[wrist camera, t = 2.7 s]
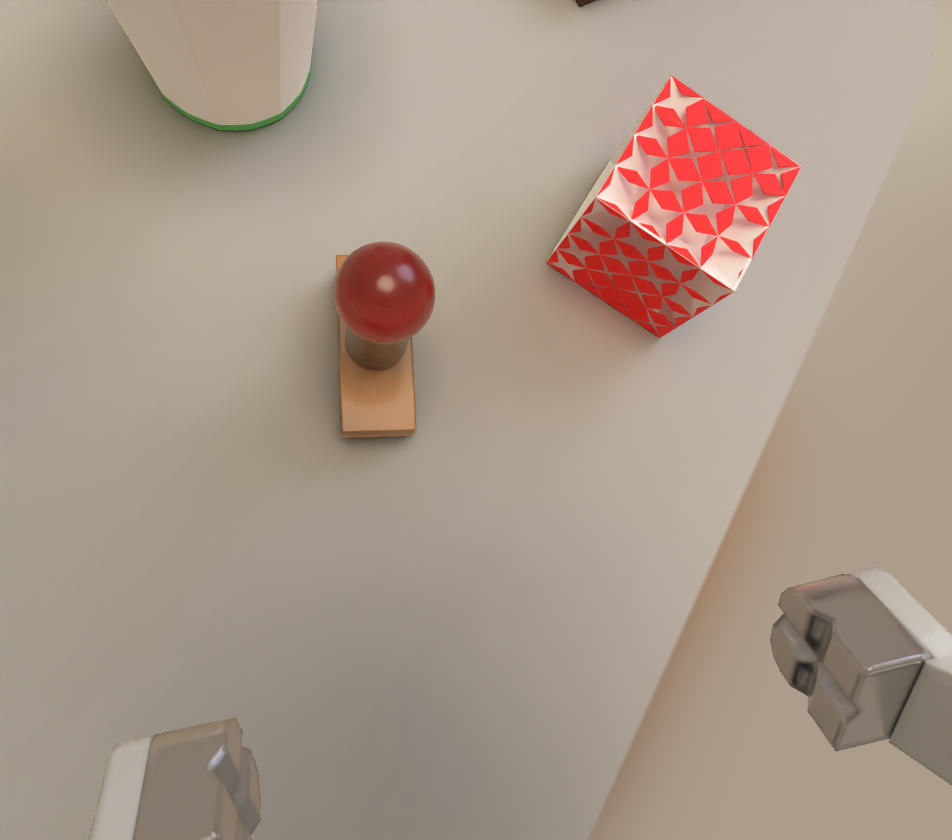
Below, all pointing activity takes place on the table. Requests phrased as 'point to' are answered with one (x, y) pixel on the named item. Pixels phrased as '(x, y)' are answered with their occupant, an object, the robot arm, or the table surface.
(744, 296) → the table surface
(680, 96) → the red and white cube
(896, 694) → the robot arm
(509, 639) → the table surface
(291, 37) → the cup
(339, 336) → the stamp
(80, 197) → the table surface
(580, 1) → the stamp tray
